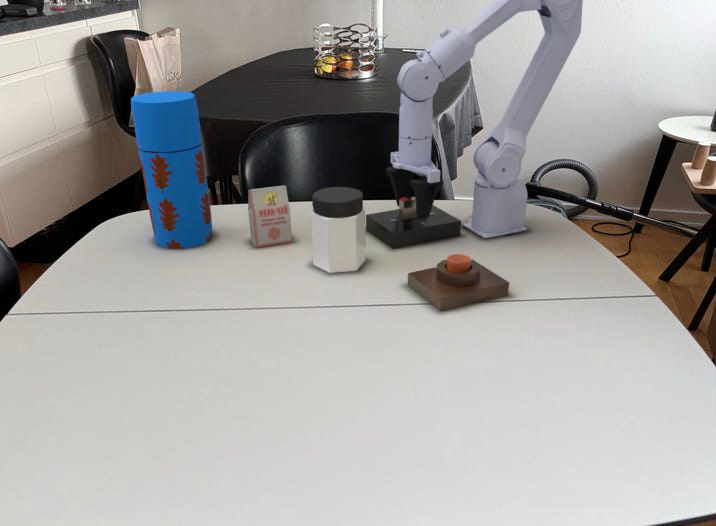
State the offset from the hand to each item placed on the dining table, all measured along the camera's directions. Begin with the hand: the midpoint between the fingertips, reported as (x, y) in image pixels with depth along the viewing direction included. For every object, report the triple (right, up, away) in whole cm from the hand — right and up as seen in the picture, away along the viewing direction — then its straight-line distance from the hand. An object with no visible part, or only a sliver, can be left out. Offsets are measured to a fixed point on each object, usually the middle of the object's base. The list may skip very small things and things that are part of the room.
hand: (412, 211), depth 126 cm
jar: (-13, -11, -10) cm, 20 cm away
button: (+5, -13, -21) cm, 26 cm away
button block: (+5, -17, -20) cm, 26 cm away
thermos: (-42, -5, +2) cm, 43 cm away
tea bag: (-26, -6, 0) cm, 27 cm away
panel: (0, -4, +2) cm, 4 cm away
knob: (0, -1, +1) cm, 1 cm away
